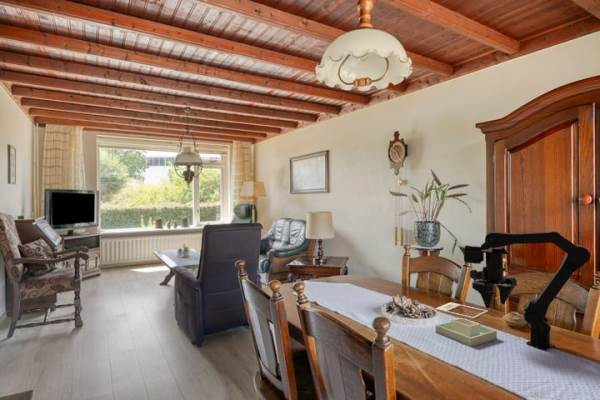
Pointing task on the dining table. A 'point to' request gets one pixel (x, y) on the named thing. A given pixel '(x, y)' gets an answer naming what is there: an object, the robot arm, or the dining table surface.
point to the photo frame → (451, 306)
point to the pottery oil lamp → (514, 319)
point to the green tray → (484, 336)
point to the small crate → (465, 327)
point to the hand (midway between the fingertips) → (495, 306)
